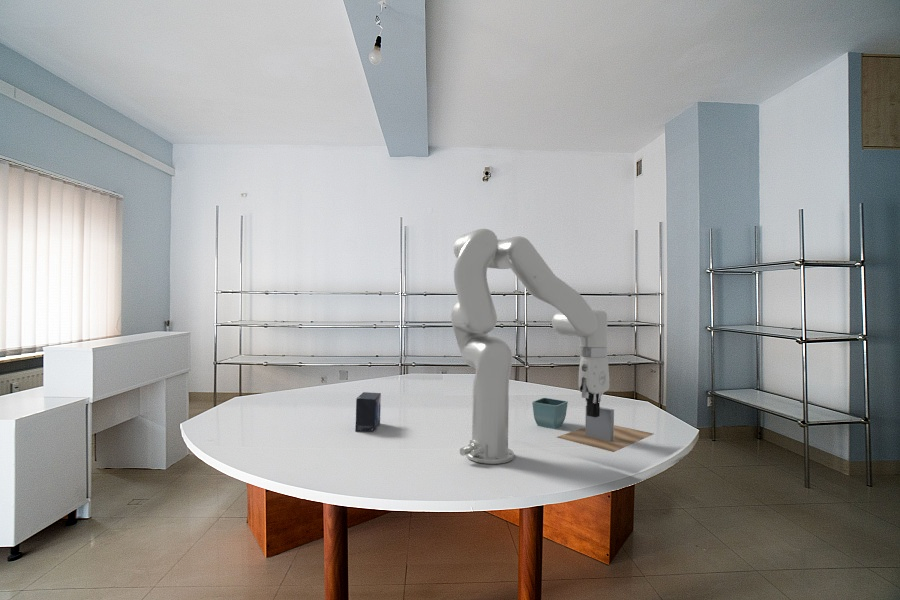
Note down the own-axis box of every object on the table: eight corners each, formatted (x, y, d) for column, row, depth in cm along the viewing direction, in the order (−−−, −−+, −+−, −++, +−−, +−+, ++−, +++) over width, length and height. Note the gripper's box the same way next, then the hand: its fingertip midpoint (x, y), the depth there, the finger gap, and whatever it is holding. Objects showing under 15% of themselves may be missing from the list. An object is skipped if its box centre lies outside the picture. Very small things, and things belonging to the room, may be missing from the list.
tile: (610, 441, 135) (610, 410, 135) (585, 435, 140) (585, 405, 140) (613, 440, 136) (614, 409, 136) (588, 434, 142) (589, 404, 142)
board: (613, 456, 125) (613, 451, 125) (556, 441, 138) (556, 437, 138) (654, 437, 143) (654, 433, 143) (599, 425, 156) (599, 422, 156)
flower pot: (556, 434, 146) (557, 405, 146) (531, 429, 151) (531, 401, 151) (568, 428, 153) (568, 401, 153) (543, 424, 158) (543, 397, 158)
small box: (375, 432, 146) (376, 398, 146) (354, 432, 146) (355, 398, 146) (381, 423, 156) (381, 392, 156) (361, 423, 156) (362, 391, 156)
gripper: (591, 356, 128) (591, 423, 128) (618, 352, 138) (617, 414, 138) (567, 353, 133) (567, 418, 133) (594, 350, 143) (594, 409, 143)
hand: (593, 416), depth 135 cm, fingers closed
